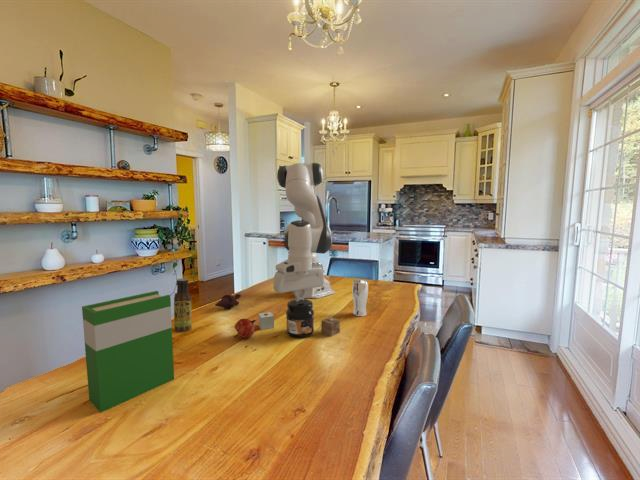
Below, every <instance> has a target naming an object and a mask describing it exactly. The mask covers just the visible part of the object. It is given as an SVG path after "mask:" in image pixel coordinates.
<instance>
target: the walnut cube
mask: <svg viewBox="0 0 640 480" xmlns="http://www.w3.org/2000/svg"><path fill="white" fill-rule="evenodd" d="M320 322H321V334H324V335H326V336H329V337H333V336H335V335H337V334H340V331H341V320H340V319H338V318H334V317H331V316H329V317H326V318H324V319H321V321H320Z"/></svg>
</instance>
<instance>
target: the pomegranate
mask: <svg viewBox="0 0 640 480" xmlns="http://www.w3.org/2000/svg"><path fill="white" fill-rule="evenodd" d="M255 322H257V320H256V319H253V320H250V319H249V318H240V319H239V320H237V321H236V323H235V324H234V329H235V330H236V332H237V334H236V335H233V338H236V337H238V336H240V337H241V338H242V339H244V340H246V339H249V338H251V337H252V336H253V335H254V333H255V330H256V329H255V328H256V326H255V324H254V323H255Z"/></svg>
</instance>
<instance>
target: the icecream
mask: <svg viewBox="0 0 640 480" xmlns="http://www.w3.org/2000/svg"><path fill="white" fill-rule="evenodd" d="M241 296H242V295H241V294H240V293H238V294H235V295H234V296H233V295H232V294H224V295H223V296H222V297H221V300H219V301H217V302H216V303H215V304H214V306H215V307H220V308H224V310H228V311H229V310H231V309H232V308H233V309H234V308H235V306H238V305H239V304H240V302H239V301H238V300H239V299H240V298H241Z"/></svg>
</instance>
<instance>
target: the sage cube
mask: <svg viewBox="0 0 640 480" xmlns="http://www.w3.org/2000/svg"><path fill="white" fill-rule="evenodd" d="M257 316H258V327H259V329H260V330H261V331H263V330H269V329H274V328H275V316H274V314H273V313H272V312H270V311H268V312H262V313H261V312H260V313H258V315H257Z"/></svg>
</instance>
